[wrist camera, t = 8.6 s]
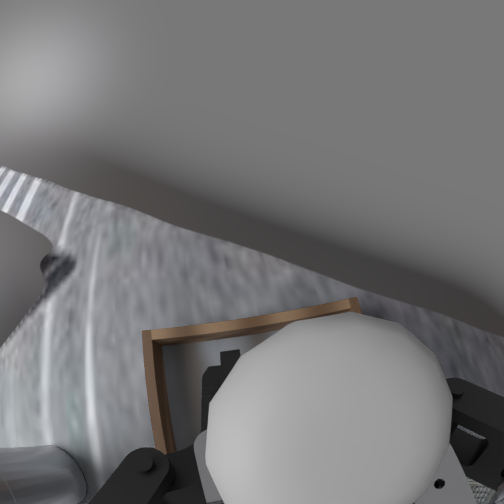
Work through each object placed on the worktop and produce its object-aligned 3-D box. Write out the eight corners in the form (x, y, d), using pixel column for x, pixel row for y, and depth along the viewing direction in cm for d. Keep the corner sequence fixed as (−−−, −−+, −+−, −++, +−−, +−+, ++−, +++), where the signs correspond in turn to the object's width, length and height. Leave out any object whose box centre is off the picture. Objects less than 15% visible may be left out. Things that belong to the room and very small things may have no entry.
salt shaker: (229, 353, 16) (172, 229, 4) (327, 358, 15) (483, 256, 4) (220, 448, 13) (137, 574, 1) (321, 451, 13) (473, 539, 1)
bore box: (178, 470, 23) (163, 484, 18) (159, 342, 31) (141, 330, 26) (367, 435, 25) (390, 442, 20) (340, 313, 33) (356, 296, 28)
